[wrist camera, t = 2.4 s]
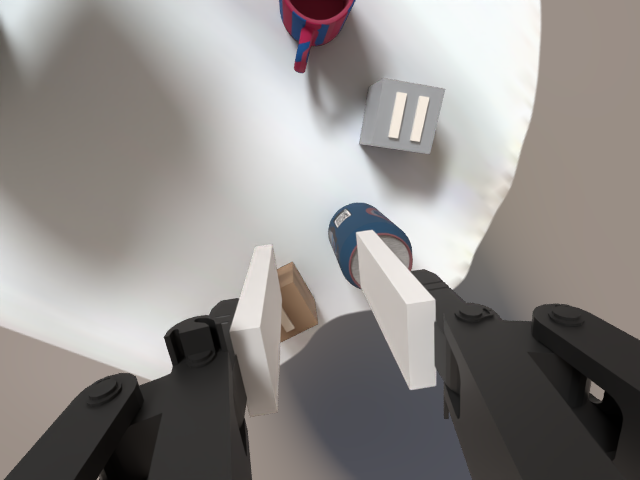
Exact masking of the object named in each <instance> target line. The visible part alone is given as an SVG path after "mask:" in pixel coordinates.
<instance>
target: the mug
mask: <svg viewBox="0 0 640 480" xmlns="http://www.w3.org/2000/svg"><path fill="white" fill-rule="evenodd" d="M354 2H355V0H279V4H280V14H281V18H282V21H283V24H284V26H285V28H286V30H287V31H288V32H289V34H290V35H291V36H292V37H293V38H294V39H296V40H297V41H299V44H298V49H297V54H296V59H295V64H294V70H295V71H296V72H298V73H304V72H305V69H306V65H307V61H308V56H309V52H310V48H311V46H320V45H324V44H326V43H328V42H330V41H331V40H333V39H334V38H335V37H336V36H337V35H338V33H339V32H340V31H341V29H342V27H343V25H344V23H345V21H346V19H347V17H348V15H349V13H350V11H351V9H352V6H353V4H354Z"/></svg>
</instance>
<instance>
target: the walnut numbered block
mask: <svg viewBox="0 0 640 480" xmlns="http://www.w3.org/2000/svg"><path fill="white" fill-rule="evenodd" d="M277 273H278V279H279V285H280V291H281V296H282V311H281V336H280V343H281V342H283V341H285V340H287V339H289V338H291V337H293V336H295V335H297V334H299V333H301V332H303V331H305V330H307V329H309V328H311V327H313V326H315V325H317V324H318V319H317V312H316V306H315V300H314V298H313V296H312V294H311V292H310V291H309V289H308V287H307V286H306V284H305V282H304V280H303V279H302V277H301V275H300V274H299V272H298V270H297V268H296V267H295V265H294V263H293V262H291V263H289V264H287V265H285V266H283V267H281V268H279V269H277Z"/></svg>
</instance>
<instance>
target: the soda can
mask: <svg viewBox="0 0 640 480" xmlns="http://www.w3.org/2000/svg"><path fill="white" fill-rule="evenodd" d="M368 230H373V231H374V232H375V233H376V234H377V235H378V236H379V237H380V239H381V240H382V241H383V242H384V243H385V244H386V245H387V246H388V247H389V249H390V250H391V251H392V252H393V253H394V254H395V255H396V256H397V258H398V259H399V260H400V261H401V262H402V263H403V264H404V265H405V266H406V268H407V269H408V270H409V271H411V269H412V263H413V259H412V247H411V243H410V241H409V239H408V237H407V236H406V234H405V233H404V232H403V231H402V230H401V229H400V228H398V227H397V226H396V225H395V224H394V223H393V222H391V221H390V220H389V219H388V218H387V217H385V216H384V215H383V214H382V213H381V212H379V211H378V210H377V209H376V208H375V207H373V206H371V205H369V204H365V203H352V204H349V205H346V206H344V207H342V208H341V209H340V210H338V211H337V212H336V214H335V215H334V216H333V218H332V220H331V222H330V225H329V230H328V235H329V240H330V243H331V246H332V248H333V251H334V253H335V256H336V258H337V261H338V263H339V266H340V268H341V271H342V273H343V275H344V277H345V278H346V279H347V280H348V281H349V282H350V283H351V284H352V285H353V286H355V287H357V288H359V289H361V283H360V272H359V261H358V250H357V238H356V232H361V231H368Z"/></svg>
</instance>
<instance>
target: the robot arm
mask: <svg viewBox="0 0 640 480" xmlns="http://www.w3.org/2000/svg"><path fill="white" fill-rule="evenodd" d="M356 238H357V250H358V261H359V272H360V283H361V289H362V291H363V293H364V295H365V297H366V299H367V301H368V303H369V305H370V307H371V310H372V312H373V314H374V315H375V318H376V320H377V322H378V324H379V326H380V328H381V330H382V332H383V335H384V337H385V338H386V341H387V343H388V345H389V347H390V349H391V351H392V353H393V356H394V358H395V360H396V362H397V364H398V366H399V368H400V370H401V372H402V374H403V376H404V378H405V381H406V383H407V385H408V387H409V389H410V390H413V389H420V388H426V387H432V386H436V369H437V371H438V372H439V374H440V376H441V377H442V379H443V380H444V419H448V418H449V417H448V413H449V412H450V415H451V418H452V421H453V424H454V427H455V430H456V433H457V436H458V439H459V442H460V445H461V448H462V450H463V454H464V456H465V459H466V462H467V466H468V469H469V471H470V475H471V477H472V480H640V340H638V339H636V338H634V337H633V336H631V335H629V334H627V333H626V332H624V331H622V330H620V329H618V328H616V327H615V326H613V325H611V324H609V323H607V322H606V321H604V320H602V319H600V318H598V317H596V316H595V315H593V314H591V313H589V312H587V311H584V310H582V309H580V308H576V307H572V306H569V305H565V304H561V305H560V304H547V305H546V304H545V305H541V306H538V307H536V308H535V309H534V311H533V315H532V321H507V320H502V319H501V318H500V317H499V315H498V314H497V313H496V312H495V311H493V310H492V309H490V308H488V307H486V306H484V305H480V304H475V303H466V302H465V301H464V300H463V299H461V297H459V296H458V295H457V294H456V293H455V292H454V291H453V290H452V289H451V288H449V286H448V285H447V284H446V283H445V282H443V281H442V280H441V279H440V278H439V277H438V276H437V275H436V274H434V273H432V272H429V271H427V270H425V269H423V270H416V271H409V270H408V269H407V268H406V266H405V265H404V264H403V263H402V262H401V261H400V260H399V259H398V258H397V256H396V255H395V254H394V253H393V252H392V251H391V250H390V249H389V247H388V246H387V245H386V244H385V243H384V242H383V241H382V240H381V239H380V237H379V236H378V235H377V234H376V233H375V232H374V231H373V230H368V231H361V232H356ZM281 311H282V296H281V291H280V285H279V279H278V273H277V268H276V262H275V256H274V251H273V245H272V244H269V245H262V246H255V249H254V252H253V255H252V259H251V262H250V265H249V269H248V272H247V275H246V278H245V282H244V285H243V288H242V292H241V295H240V298H236V299H230V300H223V301H220V302H219V303H218V304H217V305H216V306H215V307H214V308H212V310H211V312H210V314H209V315H203V316H196V317H193V318H189V319H186V320H184V321H182V322H180V323H178V324H176V325H175V326H173V327H172V328H171V329H170V330H168V331H167V333H166V335H165V336H164V339H165V342H166V346H167V349H168V352H169V355H170V358H171V362H172V365H173V368H172V372H171V373H170V374H168V375H166V376H164V377H161V378H159V379H156V380H153V381H151V382H148V383H145V384H142V385H140V386H139V384H138V381H137V378H136V376H134V375H132V374H130V373H119V374H115V375H112V376H107V377H105V378H103V379H100V380H98V381H96V382H95V383H93V384H92V385H91V386H89V387H87V388H85V389H84V390H83V391H82V392H81V393H80V394H79V395H78V396H77V397H76V398H75V399H74V400H73V401H72V402H71V403H70V405H69V406H68V407H67V408H66V409H65V410H64V411H63V412H62V414H61V415H60V416H59V417H58V418H57V419H56V420H55V422H54V423H53V424H52V425H51V426H50V427H49V428H48V430H47V431H46V432H45V433H44V434H43V435H42V437H41V438H40V439H39V440H38V441H37V442H36V443H35V445H34V446H33V447H32V448H31V449H30V451H28V453H27V454H26V455H25V456H24V457H23V458H22V459H21V461H20V462H19V463H18V464H17V465H16V466H15V467H14V469H13V470H12V471H11V472H10V473H9V474H8V475H7V477H6V478H5V479H4V480H97V478H98V476H99V477H100V478H99V480H252V474H251V464H250V453H249V441H248V430H247V426H246V422H245V418H244V415H245V408H246V403H247V407H248V411H249V415H250V417H254V416H259V415H265V414H271V413H277V411H278V386H279V385H278V384H279V361H280V336H281ZM591 381H593V382H594V383H595V384H597V385H598V386H599V387H601V388H602V389H603V390H605V392H604V398H603V400H602V401H600V400H599V399H597V398H596V397H594V396H593V395H592V394H590V393H589V392H590V386H591Z"/></svg>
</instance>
